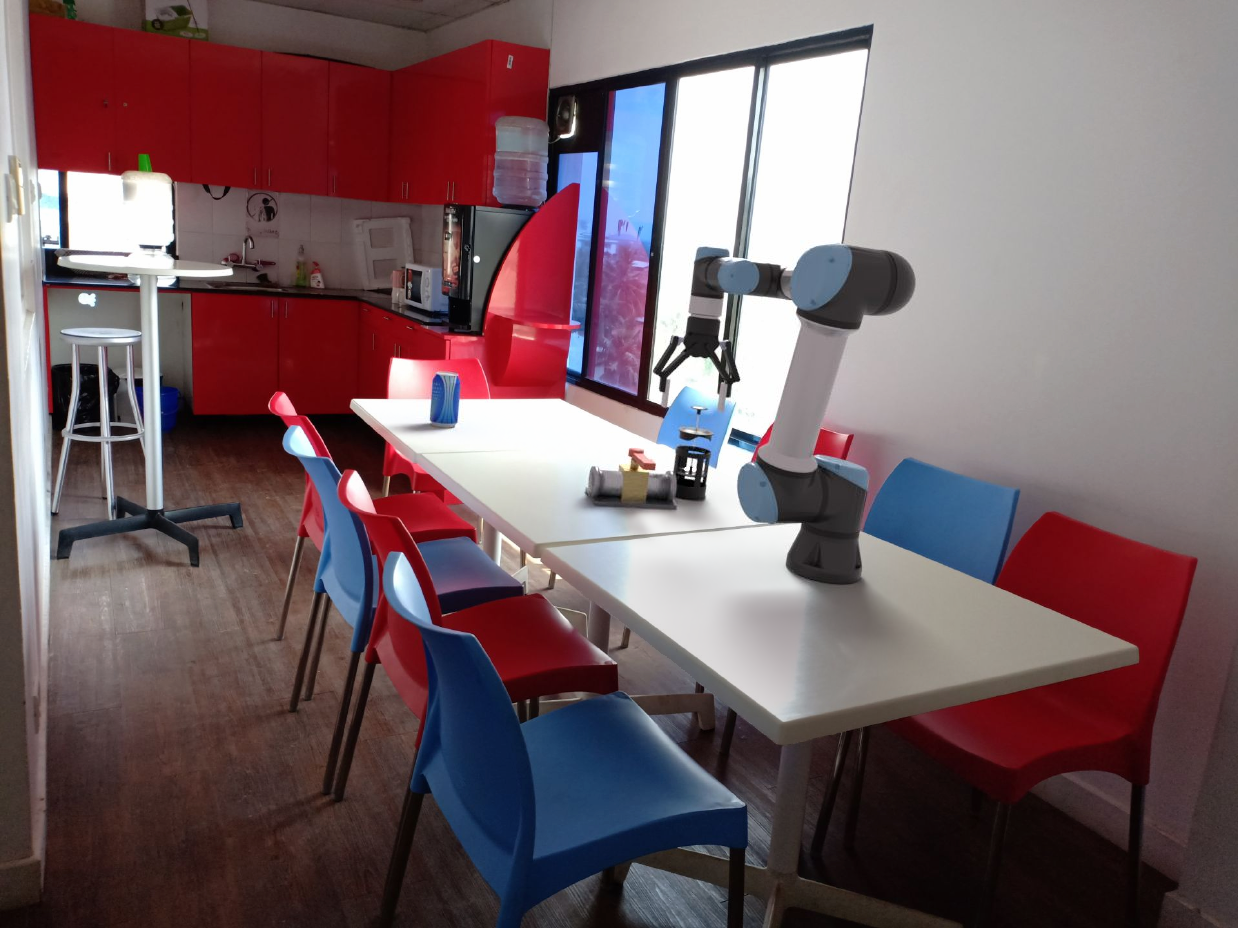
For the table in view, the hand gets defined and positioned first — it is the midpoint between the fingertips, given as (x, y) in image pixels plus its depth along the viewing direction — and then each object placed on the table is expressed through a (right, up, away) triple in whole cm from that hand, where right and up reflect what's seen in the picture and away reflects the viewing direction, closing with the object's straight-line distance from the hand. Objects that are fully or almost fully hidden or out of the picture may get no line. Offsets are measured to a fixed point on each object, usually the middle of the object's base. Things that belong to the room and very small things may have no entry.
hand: (692, 409), depth 214 cm
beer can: (-71, -1, +69) cm, 99 cm away
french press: (0, -21, +22) cm, 30 cm away
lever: (-12, -12, +2) cm, 17 cm away
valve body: (-14, -21, +10) cm, 28 cm away
